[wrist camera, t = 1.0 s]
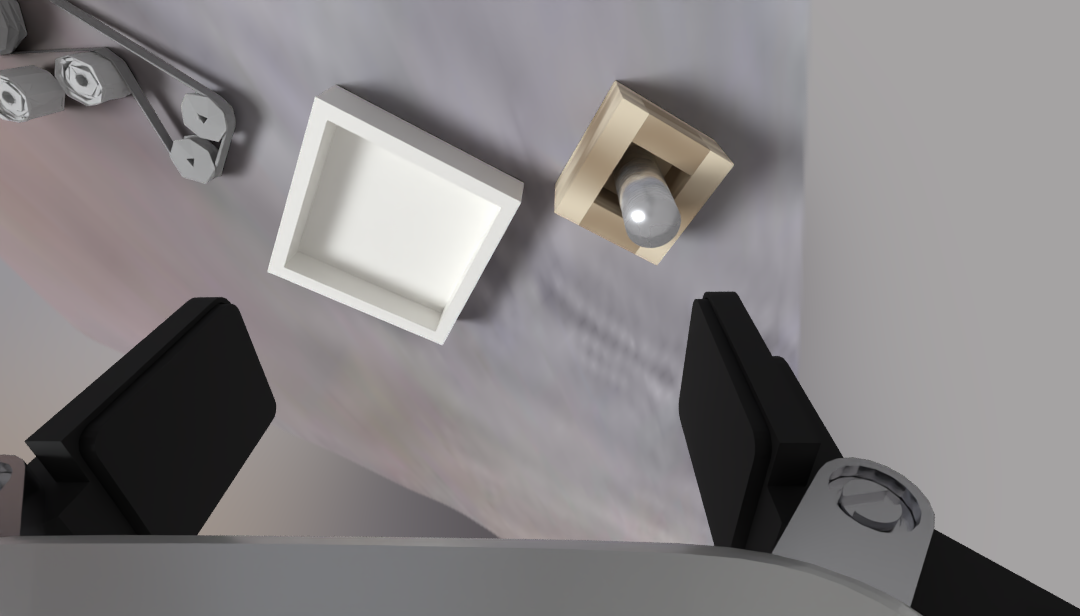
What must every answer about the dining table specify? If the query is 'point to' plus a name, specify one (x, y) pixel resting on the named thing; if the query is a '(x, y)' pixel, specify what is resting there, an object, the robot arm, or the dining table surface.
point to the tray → (389, 216)
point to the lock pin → (645, 199)
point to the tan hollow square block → (616, 126)
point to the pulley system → (112, 92)
